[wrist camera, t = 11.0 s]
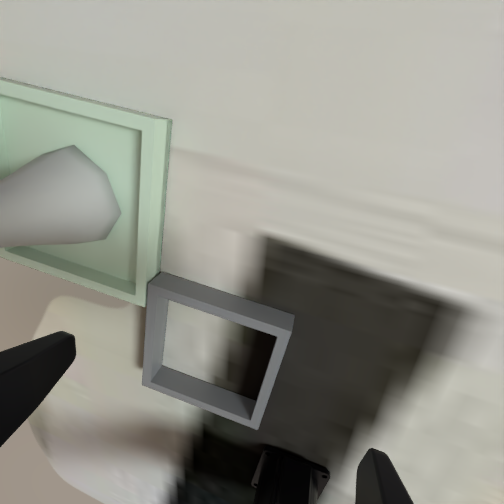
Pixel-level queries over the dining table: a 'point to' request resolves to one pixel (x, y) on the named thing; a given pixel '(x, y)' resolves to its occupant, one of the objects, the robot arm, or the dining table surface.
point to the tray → (118, 171)
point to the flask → (57, 201)
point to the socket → (223, 307)
